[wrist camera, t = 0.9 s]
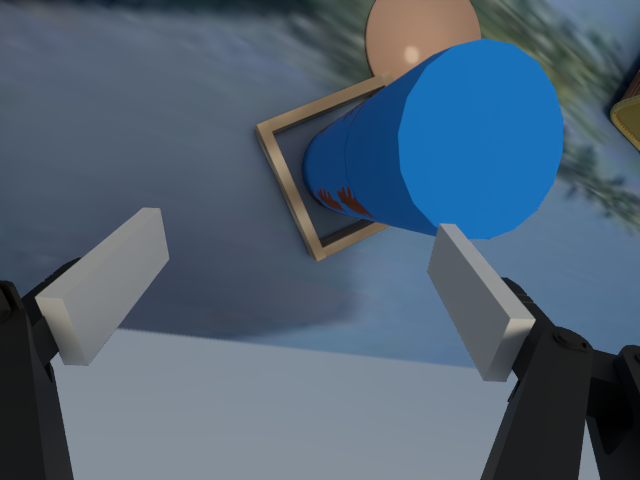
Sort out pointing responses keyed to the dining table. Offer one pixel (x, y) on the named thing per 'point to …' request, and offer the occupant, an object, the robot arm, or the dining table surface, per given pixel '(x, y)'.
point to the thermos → (445, 145)
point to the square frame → (283, 176)
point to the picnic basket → (629, 113)
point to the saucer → (415, 32)
